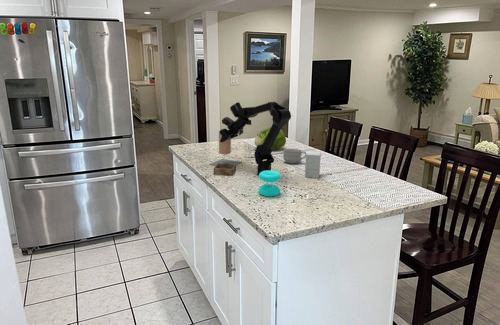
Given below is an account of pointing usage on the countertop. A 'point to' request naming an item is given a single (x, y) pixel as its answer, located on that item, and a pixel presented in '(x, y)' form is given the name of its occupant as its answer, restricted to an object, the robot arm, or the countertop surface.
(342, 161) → the countertop surface
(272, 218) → the countertop surface
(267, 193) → the donuts
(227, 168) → the wooden frame
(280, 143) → the lettuce
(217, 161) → the rubber mat
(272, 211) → the countertop surface
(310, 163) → the supplement box
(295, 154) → the teacup
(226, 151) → the terracotta block
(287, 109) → the robot arm
